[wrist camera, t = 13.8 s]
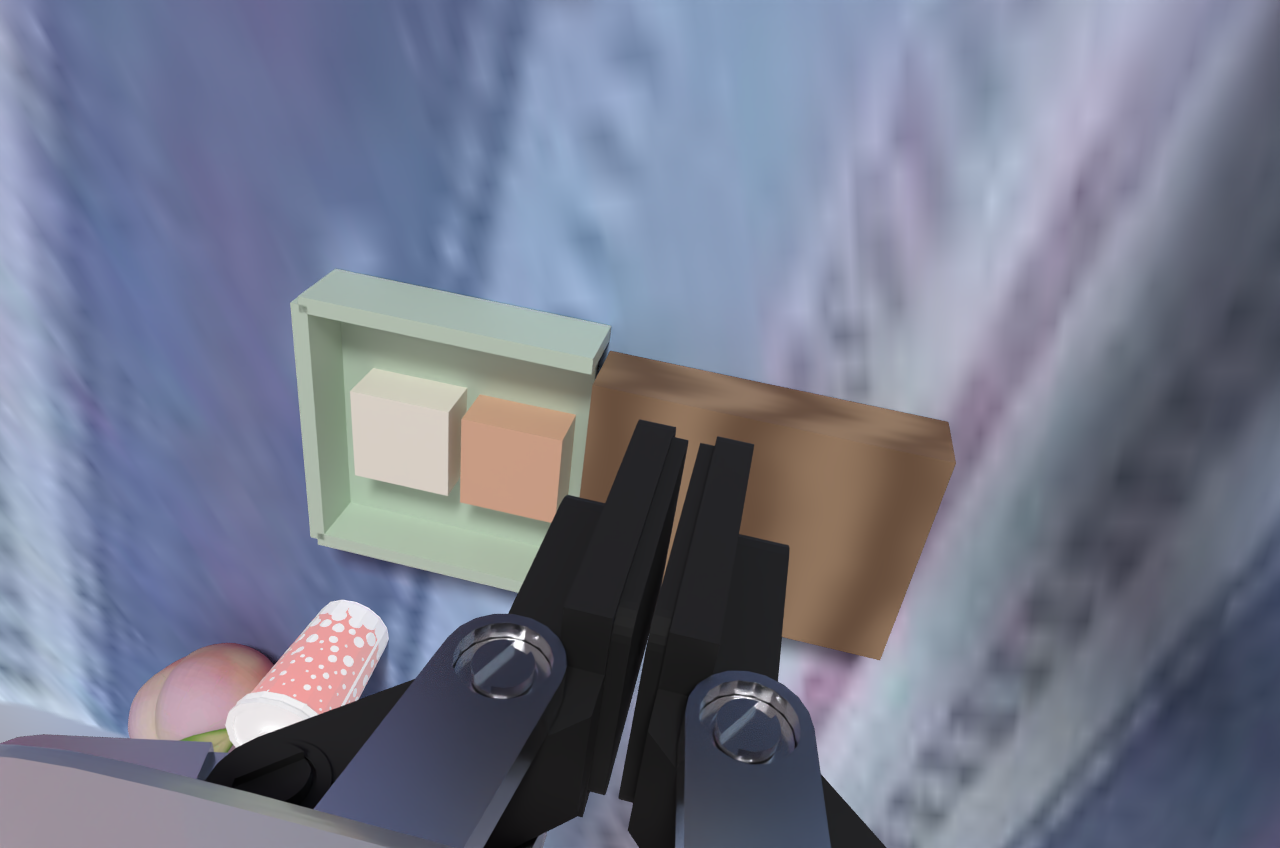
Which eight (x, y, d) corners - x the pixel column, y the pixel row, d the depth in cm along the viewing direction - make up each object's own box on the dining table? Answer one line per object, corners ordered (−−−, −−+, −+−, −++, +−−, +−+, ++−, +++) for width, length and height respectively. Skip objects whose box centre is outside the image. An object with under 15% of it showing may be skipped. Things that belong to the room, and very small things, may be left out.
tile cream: (349, 391, 43) (373, 367, 45) (354, 475, 46) (376, 449, 48) (448, 412, 43) (467, 387, 45) (447, 495, 45) (465, 469, 47)
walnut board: (948, 422, 41) (955, 463, 38) (878, 612, 47) (879, 660, 44) (610, 350, 43) (592, 385, 40) (586, 544, 49) (569, 586, 46)
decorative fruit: (259, 716, 63) (168, 844, 55) (173, 637, 60) (63, 758, 52) (346, 677, 59) (262, 808, 50) (258, 590, 56) (154, 713, 48)
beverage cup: (294, 590, 56) (145, 778, 44) (382, 589, 54) (252, 785, 42) (328, 663, 59) (196, 858, 47) (412, 664, 57) (298, 866, 45)
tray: (610, 325, 42) (593, 358, 39) (582, 561, 50) (565, 604, 47) (327, 267, 43) (289, 294, 40) (342, 505, 51) (311, 542, 48)
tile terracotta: (576, 414, 44) (562, 440, 42) (568, 495, 47) (554, 523, 45) (479, 394, 45) (461, 419, 43) (477, 475, 47) (459, 502, 45)
